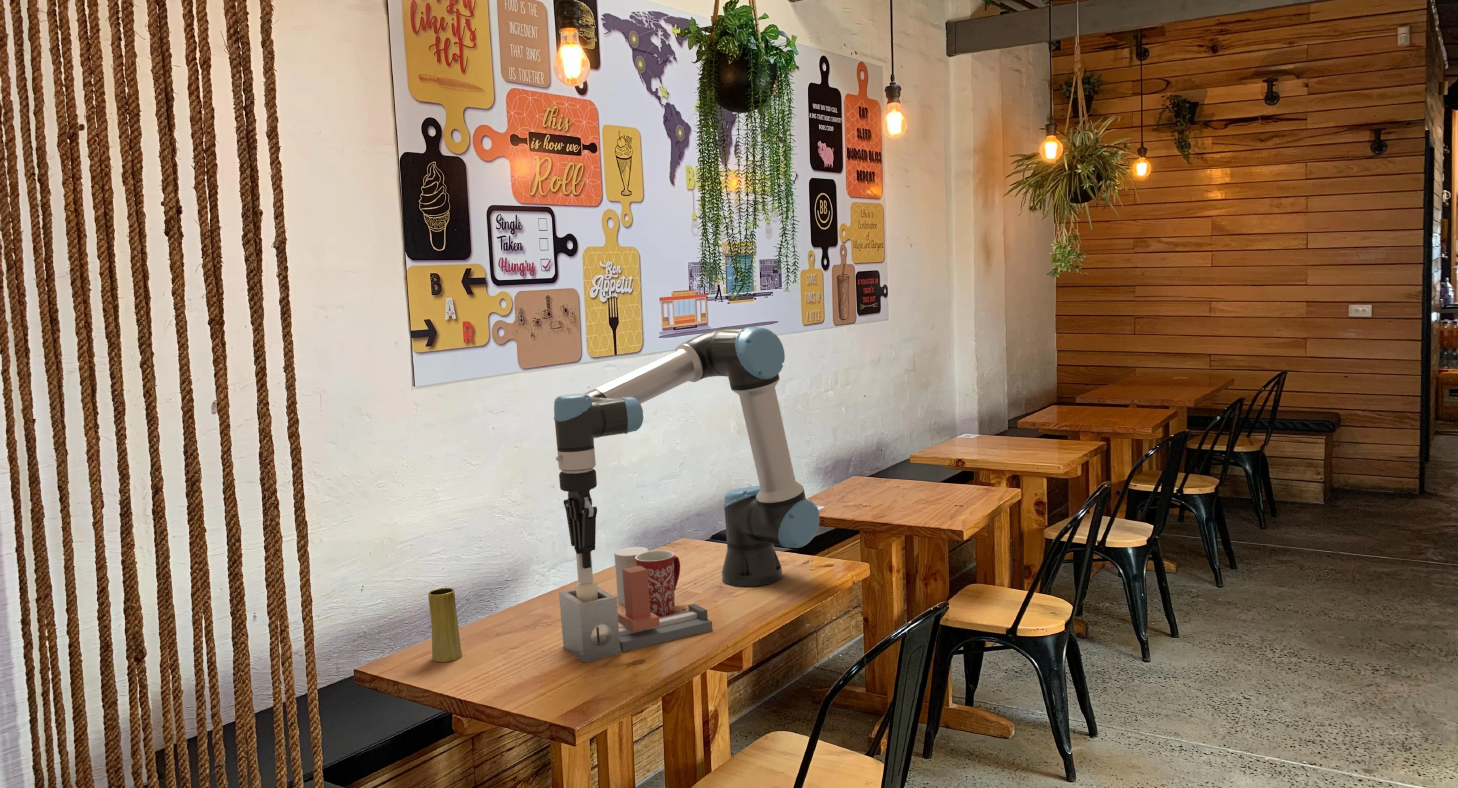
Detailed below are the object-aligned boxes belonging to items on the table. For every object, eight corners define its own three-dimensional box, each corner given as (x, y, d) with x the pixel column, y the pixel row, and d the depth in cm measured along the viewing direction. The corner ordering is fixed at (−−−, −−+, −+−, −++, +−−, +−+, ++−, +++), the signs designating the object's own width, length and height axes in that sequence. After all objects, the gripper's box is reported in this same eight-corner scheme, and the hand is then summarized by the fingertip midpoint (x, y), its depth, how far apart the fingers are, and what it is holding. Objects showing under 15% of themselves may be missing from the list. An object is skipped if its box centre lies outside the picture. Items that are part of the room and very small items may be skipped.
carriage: (643, 616, 232) (639, 562, 231) (659, 625, 225) (655, 570, 224) (618, 622, 230) (614, 568, 228) (633, 631, 223) (629, 575, 221)
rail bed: (691, 618, 239) (690, 601, 239) (712, 630, 231) (711, 612, 230) (604, 639, 229) (603, 621, 229) (623, 651, 221) (621, 633, 220)
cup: (631, 607, 251) (627, 557, 250) (611, 601, 257) (607, 552, 256) (658, 599, 256) (655, 550, 255) (638, 593, 262) (635, 545, 261)
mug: (661, 620, 239) (656, 562, 238) (631, 615, 245) (626, 557, 244) (696, 605, 249) (692, 548, 248) (667, 600, 255) (663, 544, 253)
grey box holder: (598, 638, 230) (594, 584, 228) (622, 655, 219) (617, 598, 217) (563, 647, 226) (558, 591, 225) (585, 663, 215) (580, 606, 214)
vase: (437, 653, 227) (431, 587, 226) (465, 651, 227) (459, 586, 226) (428, 663, 221) (422, 596, 220) (457, 661, 221) (451, 594, 219)
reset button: (594, 602, 225) (592, 579, 224) (602, 607, 221) (600, 583, 220) (574, 606, 222) (572, 583, 222) (582, 611, 219) (580, 587, 218)
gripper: (549, 468, 222) (557, 578, 225) (571, 476, 211) (580, 592, 213) (582, 463, 226) (590, 572, 228) (606, 471, 215) (614, 585, 217)
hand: (585, 582), depth 221 cm, fingers closed
